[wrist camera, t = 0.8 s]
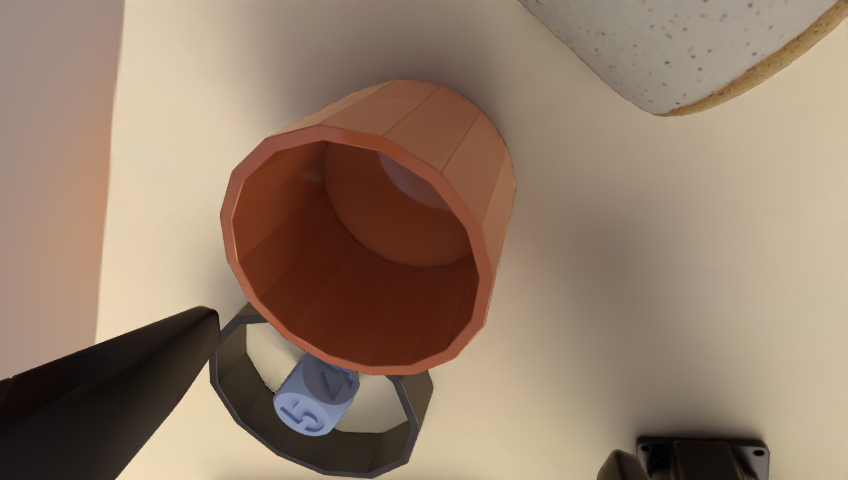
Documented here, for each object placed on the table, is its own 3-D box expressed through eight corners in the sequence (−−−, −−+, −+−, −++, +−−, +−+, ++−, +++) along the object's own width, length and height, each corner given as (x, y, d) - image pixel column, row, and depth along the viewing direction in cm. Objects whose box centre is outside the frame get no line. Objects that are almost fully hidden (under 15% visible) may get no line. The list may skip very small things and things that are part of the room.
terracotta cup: (531, 257, 23) (519, 373, 16) (359, 276, 26) (289, 377, 19) (488, 51, 18) (446, 90, 12) (291, 107, 22) (172, 162, 15)
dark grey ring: (453, 441, 31) (443, 484, 29) (288, 435, 36) (266, 471, 34) (391, 271, 25) (370, 305, 23) (204, 292, 30) (170, 322, 28)
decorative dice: (319, 336, 30) (288, 381, 26) (368, 371, 30) (343, 419, 27) (295, 365, 32) (263, 410, 28) (340, 397, 32) (314, 445, 29)
